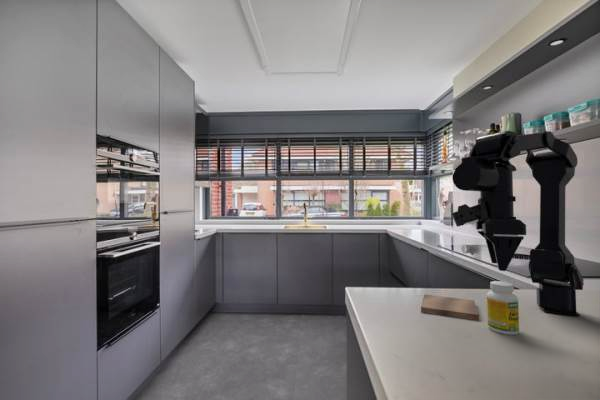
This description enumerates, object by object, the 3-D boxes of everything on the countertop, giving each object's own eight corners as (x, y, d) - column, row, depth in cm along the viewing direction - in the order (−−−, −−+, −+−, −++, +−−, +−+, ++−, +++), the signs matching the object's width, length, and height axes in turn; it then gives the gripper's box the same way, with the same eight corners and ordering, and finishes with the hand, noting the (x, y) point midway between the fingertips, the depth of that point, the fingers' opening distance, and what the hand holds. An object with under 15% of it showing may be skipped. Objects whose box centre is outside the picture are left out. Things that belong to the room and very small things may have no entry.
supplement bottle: (494, 323, 63) (493, 279, 64) (523, 331, 59) (522, 284, 59) (482, 328, 60) (481, 282, 61) (512, 337, 56) (511, 287, 56)
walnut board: (474, 304, 76) (473, 300, 76) (478, 320, 65) (478, 314, 65) (424, 298, 81) (424, 294, 81) (421, 311, 71) (420, 306, 71)
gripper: (452, 195, 73) (453, 257, 72) (454, 190, 56) (456, 271, 56) (505, 194, 68) (507, 261, 67) (525, 188, 51) (528, 277, 51)
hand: (498, 266), depth 60 cm, fingers open, 9 cm apart
